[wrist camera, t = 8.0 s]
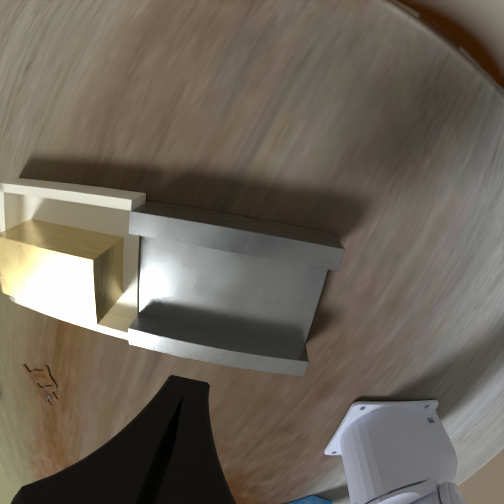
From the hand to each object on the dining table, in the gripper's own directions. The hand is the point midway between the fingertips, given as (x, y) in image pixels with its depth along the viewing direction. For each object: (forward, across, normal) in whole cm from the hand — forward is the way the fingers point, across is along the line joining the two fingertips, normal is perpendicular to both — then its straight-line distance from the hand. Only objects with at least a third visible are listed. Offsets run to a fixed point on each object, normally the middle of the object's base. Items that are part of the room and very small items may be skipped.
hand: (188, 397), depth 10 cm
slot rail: (+10, 0, 0) cm, 10 cm away
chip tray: (+10, +11, 0) cm, 15 cm away
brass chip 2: (+9, +8, 0) cm, 13 cm away
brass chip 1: (+9, +12, 0) cm, 16 cm away
